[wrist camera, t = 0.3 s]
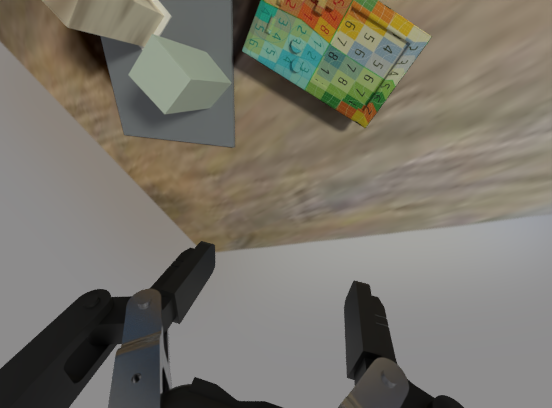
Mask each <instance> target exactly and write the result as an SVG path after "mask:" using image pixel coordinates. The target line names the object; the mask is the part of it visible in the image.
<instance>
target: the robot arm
mask: <svg viewBox="0 0 552 408" xmlns="http://www.w3.org/2000/svg"><path fill="white" fill-rule="evenodd" d="M214 268H215V245H214V244H211V243H207V242H203V241H201V242H200V243H199V244H198V245H197V246H196V247H195V249H193V248H189V249H187V250H186V251H184V252H182V253H181V254H180V255H179V256H178V258H177V259H176V261H174V262H173V263H172V264H171V266H169V268H168V269H167V270H166V271H165V272H164V273H163V275H161V277H160V278H159V279H158V280H157V281H156V282H155V283H154V284H153V286H152V287H151V288H149V289H145V290H141V291H139V292H138V293H136V294H134V295H133V296H131V297H111V295H110V293H109V292H108V291H107V290H104V289H97V290H93V291H90V292H87V293H85V294H84V295H82V296H80V297H79V298H78V299H77V300H76V301H75V302H74V303H73V304H71V305H70V306H69V307H68V308H67V309H66V310H65V311H64V312H63V313H62V314H60V315H59V316H58V317H57V318H56V319H55V320H54V321H53V322H51V323H50V324H49V325H48V326H47V327H46V328H45V329H44V330H43V331H42V332H40V333H39V334H38V335H37V336H36V337H35V338H34V339H33V340H32V341H31V342H30V343H28V344H27V345H26V346H25V347H24V348H23V349H22V350H21V351H20V352H18V353H17V354H16V355H15V356H14V357H13V358H12V359H11V360H10V361H9V362H8V363H6V364H5V365H4V366H3V367H2V368H1V369H0V408H69V407H70V405H71V404H72V403H73V401H74V400H75V399H76V398H77V396H78V395H79V394H80V392H81V391H82V390H83V388H84V387H85V386H86V384H87V383H88V382H89V380H90V379H91V378H92V377H93V375H94V374H95V372H96V371H97V370H98V368H99V367H100V366H101V365H102V363H103V362H104V361H105V360H106V358H107V357H108V356H109V354H110V353H111V352H112V350H113V349H114V348H115V346H116V345H117V344H122V346H121V348H120V349H118V350H117V352H116V356H115V362H114V369H113V376H112V383H111V390H110V397H109V405H108V408H282V407H279V406H276V405H274V404H271V403H268V402H265V401H260V402H259V401H255V402H254V401H237V400H236V399H235V398H233V397H232V396H231V395H229V394H228V393H227V392H226V391H224V390H223V389H222V388H220V387H219V386H218V385H216V384H213V383H211V382H208V381H205V380H202V379H199V378H196V377H195V378H194V380H193V382H192V384H187V385H181V386H178V387H175V388H172V383H171V373H170V361H169V360H170V358H169V336H168V335H169V333H168V328H169V327H170V325H171V324H172V322H175V323H178V324H180V323H181V321H182V320H183V318H184V316H185V315H186V313H187V312H188V310H189V309H190V307H191V306H192V304H193V302H194V301H195V299H196V298H197V296H198V295H199V293H200V291H201V290H202V288H203V287H204V285H205V284H206V282H207V281H208V279H209V278H210V276H211V274H212V273H213V270H214ZM344 318H345V339H346V362H347V363H346V365H347V378H350V379H353V380H355V387H354V388H353V390H352V391H351V392H350V393H349V395H348V396H347V397H346V398H345V399H344V401H343V402H342V403H341V404H340V406H339V407H338V408H464V407H463V406H462V405H461V404H460V403H458V402H457V401H455V400H454V399H452V398H450V397H448V396H445V395H440V396H437V397H436V398H434V397H432V396H431V395H429V394H427V393H426V392H424V391H423V390H421V389H420V388H418V387H416V386H415V385H414V384H412V383H411V382H410V381H409V380H408V379H407V377H406V376H405V374H404V372H403V371H402V369H401V368H400V367H399V366H398V365H397V362H396V358H395V354H394V349H393V345H392V340H391V336H390V331H389V328H388V322H387V319H386V313H385V309H384V306H383V305H382V303H381V301H380V300H379V298H378V297H375V296H371V290H370V286H369V284H366V283H362V282H358V281H353V283H352V286H351V288H350V290H349V293H348V295H347V297H346V300H345V306H344Z"/></svg>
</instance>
